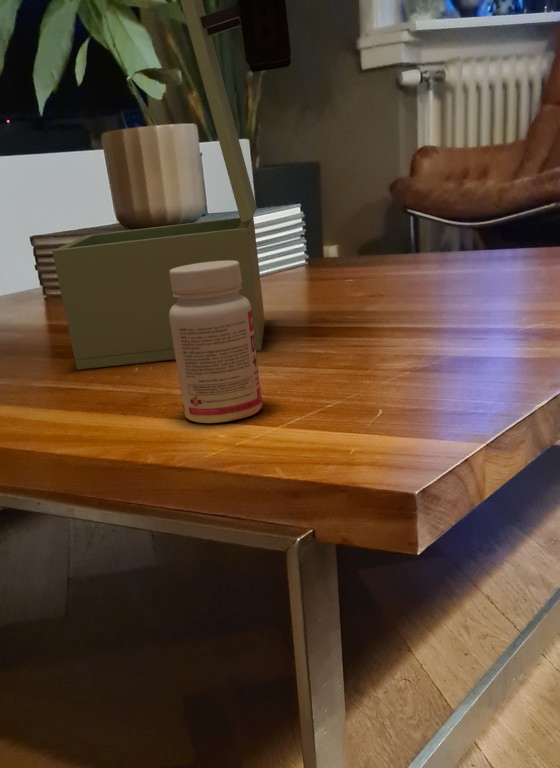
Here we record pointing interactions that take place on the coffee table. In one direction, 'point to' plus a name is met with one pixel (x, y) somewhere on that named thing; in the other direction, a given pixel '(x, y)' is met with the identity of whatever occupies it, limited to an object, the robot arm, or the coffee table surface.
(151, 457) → the coffee table surface
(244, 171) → the lid
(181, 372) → the pill bottle
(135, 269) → the bin
